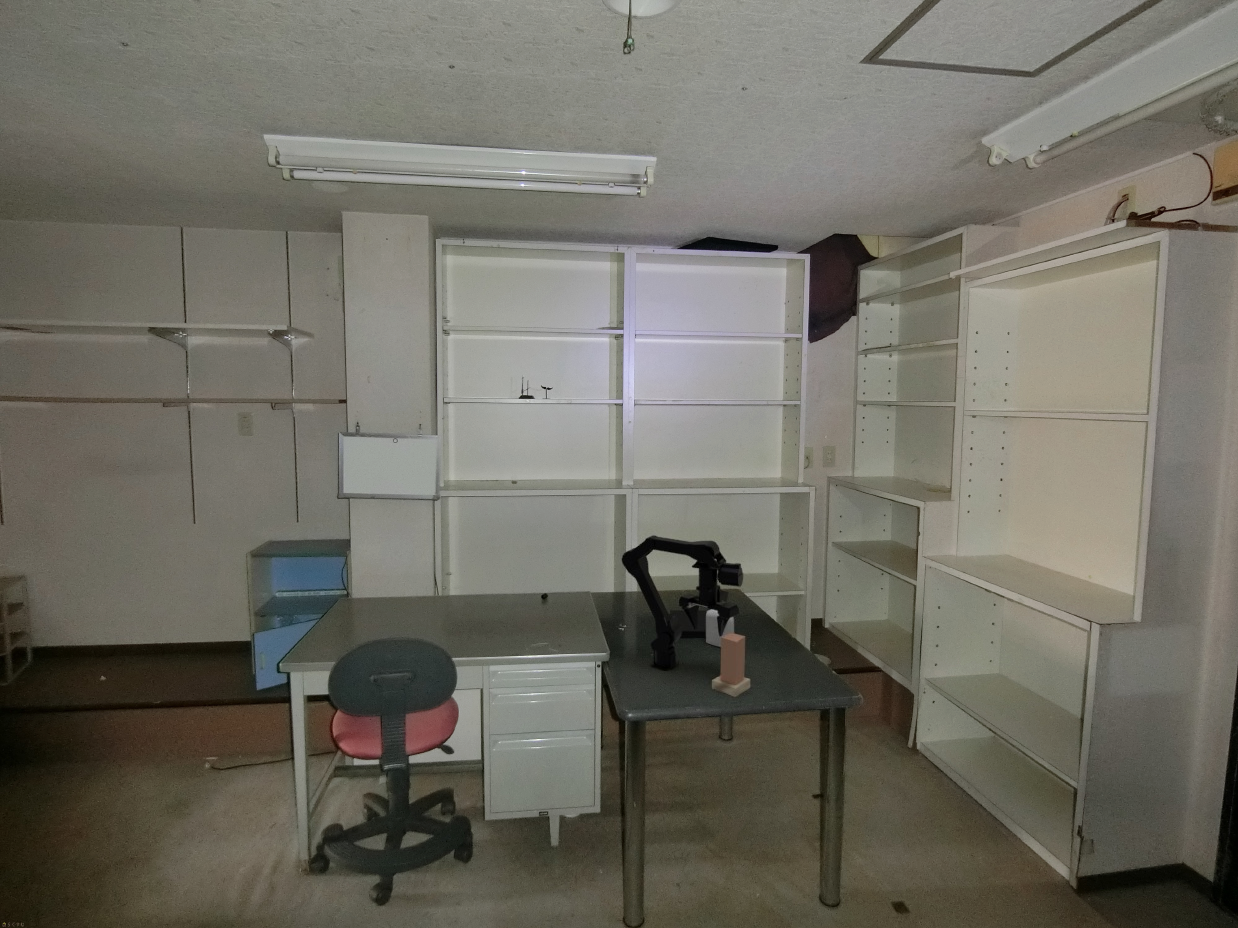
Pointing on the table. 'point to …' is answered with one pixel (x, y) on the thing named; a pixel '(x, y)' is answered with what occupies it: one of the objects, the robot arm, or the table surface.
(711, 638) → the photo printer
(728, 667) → the column
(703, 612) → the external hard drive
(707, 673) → the table surface
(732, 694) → the slab
